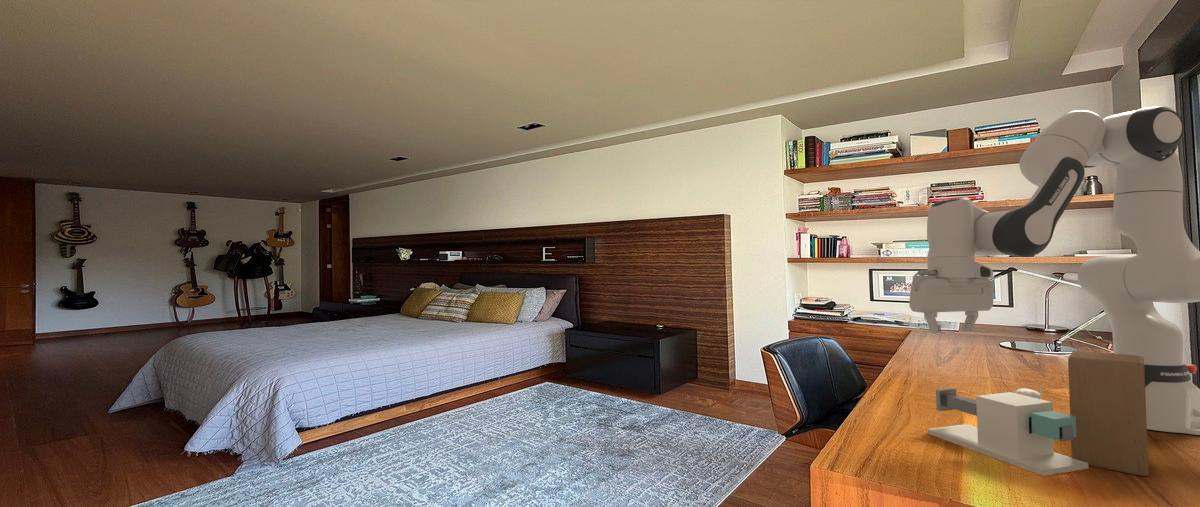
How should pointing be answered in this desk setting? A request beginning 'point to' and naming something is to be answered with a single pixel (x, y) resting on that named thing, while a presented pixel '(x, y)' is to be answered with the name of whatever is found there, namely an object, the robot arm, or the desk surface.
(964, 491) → the desk surface
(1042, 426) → the block
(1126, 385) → the wooden block
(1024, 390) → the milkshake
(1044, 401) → the bearing block
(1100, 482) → the desk surface
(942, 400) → the shaft
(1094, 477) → the desk surface
